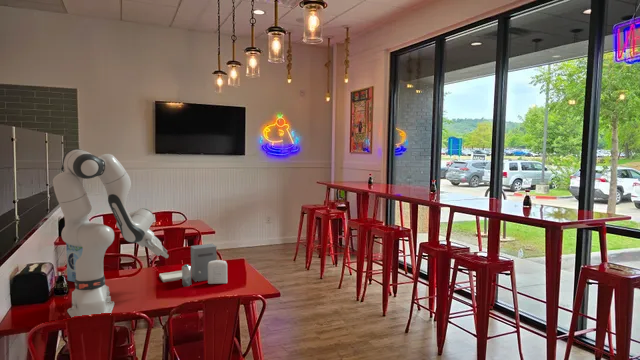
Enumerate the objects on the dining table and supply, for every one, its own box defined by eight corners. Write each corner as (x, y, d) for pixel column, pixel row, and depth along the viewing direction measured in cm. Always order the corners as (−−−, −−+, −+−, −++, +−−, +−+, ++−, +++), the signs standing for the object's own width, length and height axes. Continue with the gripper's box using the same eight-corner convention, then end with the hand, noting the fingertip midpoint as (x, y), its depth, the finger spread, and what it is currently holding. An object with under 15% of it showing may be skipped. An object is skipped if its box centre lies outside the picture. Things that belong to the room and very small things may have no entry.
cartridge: (192, 285, 227) (191, 265, 226) (183, 286, 225) (182, 266, 224) (190, 283, 231) (189, 263, 230) (181, 284, 229) (180, 264, 228)
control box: (217, 278, 239) (216, 246, 237) (195, 282, 233) (194, 249, 231) (212, 274, 246) (212, 243, 245) (191, 277, 240) (190, 245, 239)
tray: (189, 278, 239) (189, 275, 239) (163, 282, 232) (163, 279, 232) (184, 272, 250) (184, 270, 250) (159, 276, 243) (159, 273, 243)
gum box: (67, 281, 236) (65, 239, 234) (75, 278, 240) (73, 237, 238) (92, 285, 228) (90, 242, 226) (100, 282, 232) (98, 240, 231)
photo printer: (227, 281, 234) (227, 258, 233) (227, 283, 230) (226, 261, 229) (208, 282, 232) (207, 259, 231) (207, 284, 228) (206, 261, 227)
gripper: (150, 237, 208) (173, 255, 213) (149, 229, 227) (170, 245, 231) (141, 247, 207) (164, 265, 211) (140, 238, 225) (161, 254, 230)
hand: (167, 254), depth 222 cm, fingers open, 8 cm apart
